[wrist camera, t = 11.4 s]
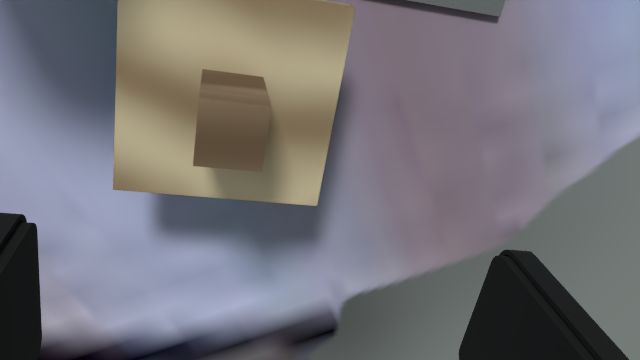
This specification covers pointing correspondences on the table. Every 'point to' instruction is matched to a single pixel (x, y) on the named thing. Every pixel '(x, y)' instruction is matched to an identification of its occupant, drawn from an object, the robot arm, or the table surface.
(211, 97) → the lid
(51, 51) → the table surface
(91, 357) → the table surface
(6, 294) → the robot arm
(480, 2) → the mat
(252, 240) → the table surface
